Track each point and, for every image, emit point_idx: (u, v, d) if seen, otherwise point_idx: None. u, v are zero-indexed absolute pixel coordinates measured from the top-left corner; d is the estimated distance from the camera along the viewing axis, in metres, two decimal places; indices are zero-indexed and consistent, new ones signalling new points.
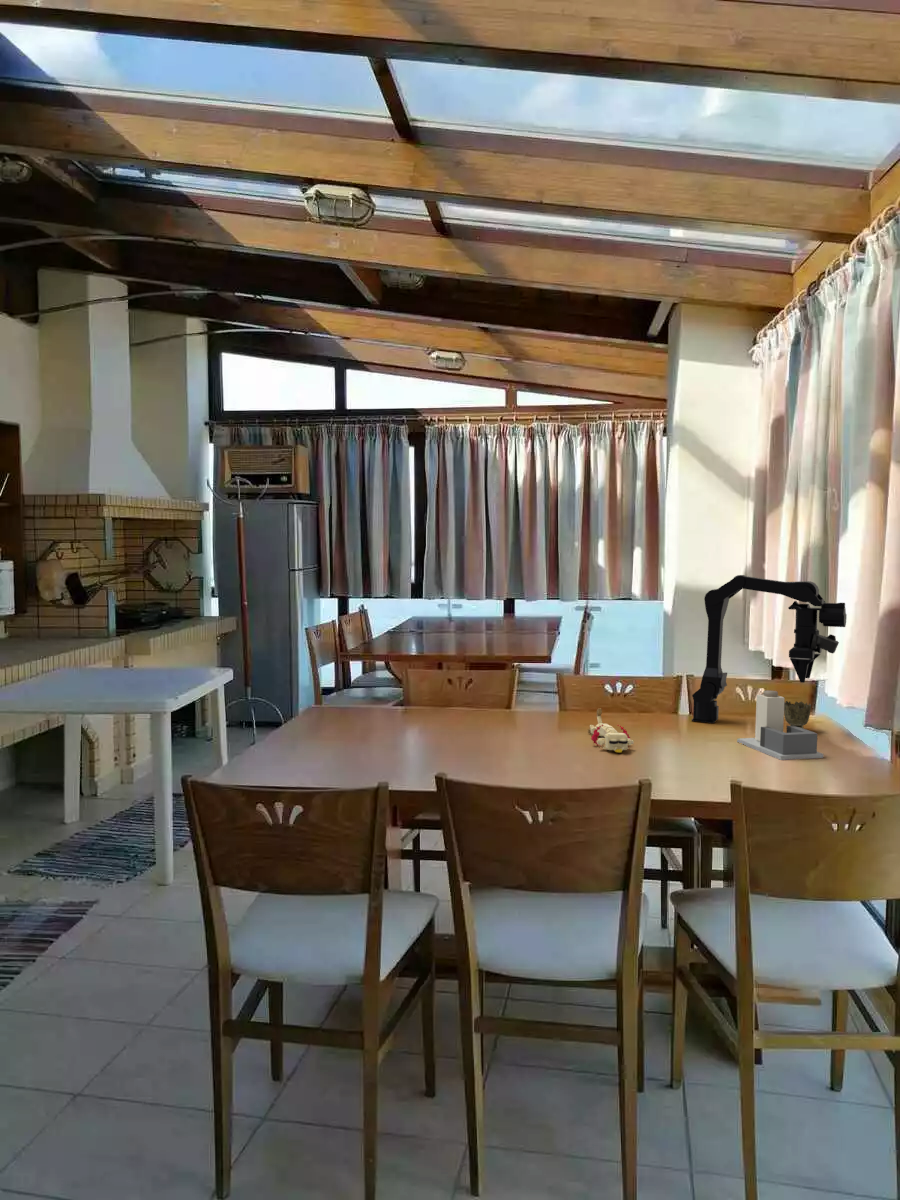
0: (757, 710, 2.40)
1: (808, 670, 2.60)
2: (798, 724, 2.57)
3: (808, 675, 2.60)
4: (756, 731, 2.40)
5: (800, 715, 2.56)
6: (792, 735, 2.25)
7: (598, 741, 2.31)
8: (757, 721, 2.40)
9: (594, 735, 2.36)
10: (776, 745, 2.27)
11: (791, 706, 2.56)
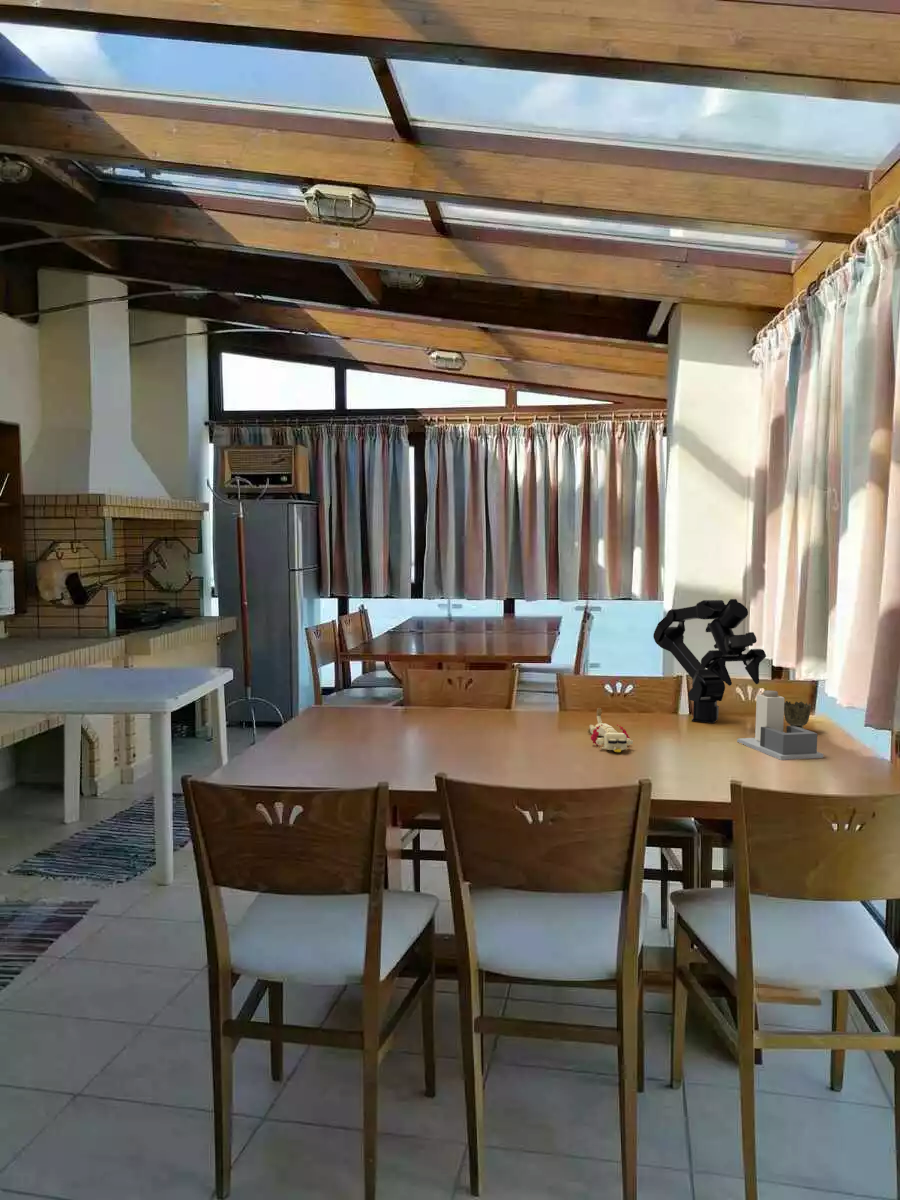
0: (757, 710, 2.40)
1: (754, 676, 2.57)
2: (798, 724, 2.57)
3: (756, 680, 2.56)
4: (756, 731, 2.40)
5: (800, 715, 2.56)
6: (792, 735, 2.25)
7: (597, 741, 2.31)
8: (757, 721, 2.40)
9: (593, 735, 2.36)
10: (776, 745, 2.27)
11: (791, 706, 2.56)
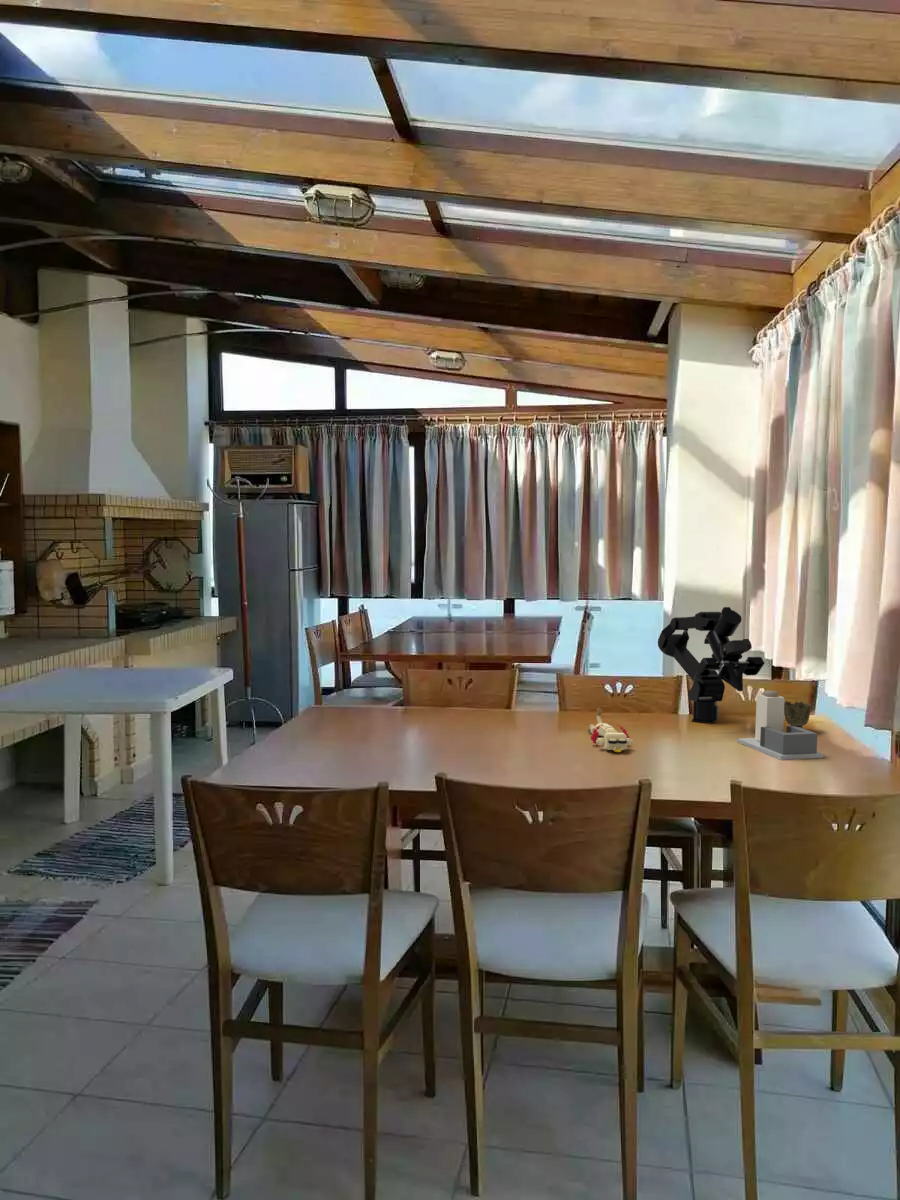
0: (757, 710, 2.40)
1: None
2: (798, 724, 2.57)
3: None
4: (756, 731, 2.40)
5: (800, 715, 2.56)
6: (792, 735, 2.25)
7: (597, 741, 2.31)
8: (757, 721, 2.40)
9: (593, 735, 2.36)
10: (776, 745, 2.27)
11: (791, 706, 2.56)
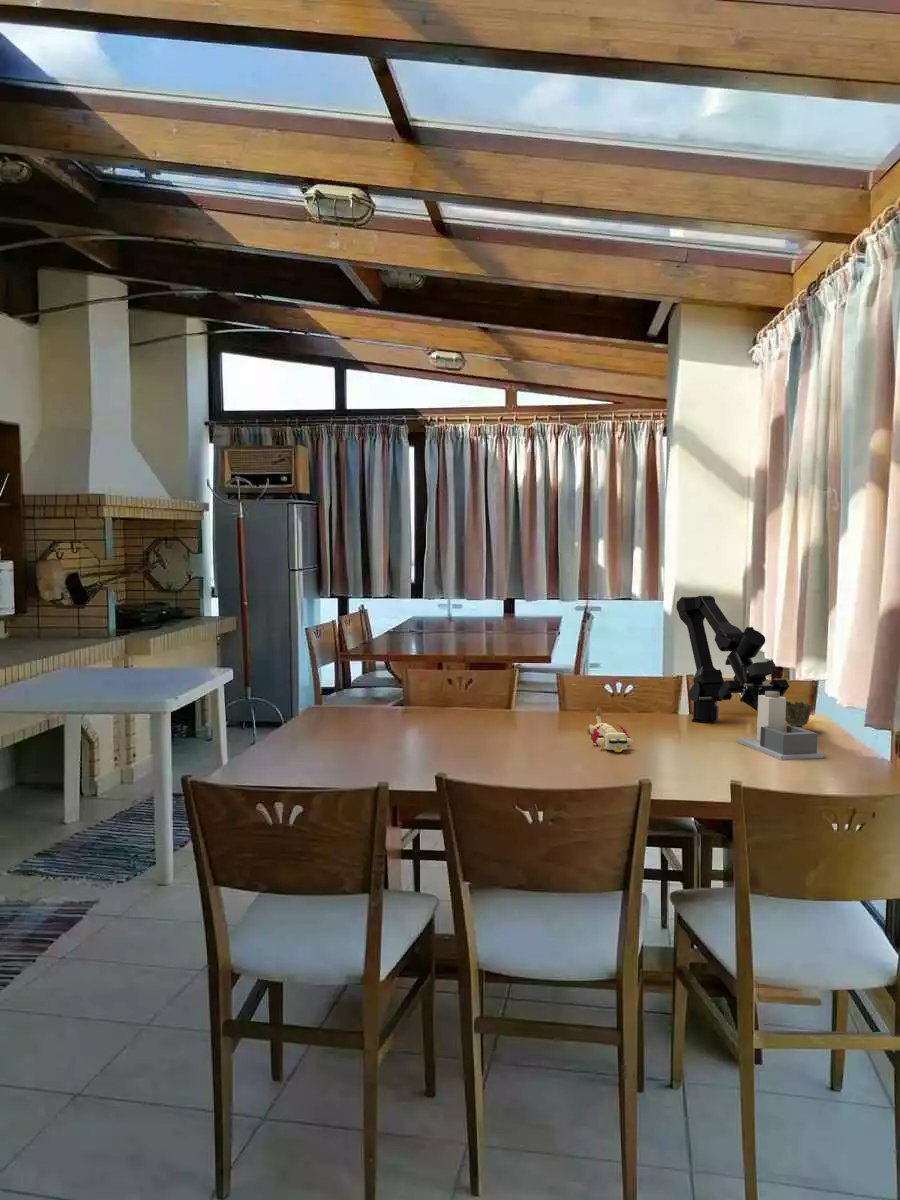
0: (759, 711, 2.39)
1: None
2: (798, 724, 2.57)
3: None
4: (758, 732, 2.39)
5: (800, 715, 2.56)
6: (792, 735, 2.25)
7: (598, 741, 2.31)
8: (759, 721, 2.39)
9: (594, 735, 2.36)
10: (776, 745, 2.27)
11: (791, 706, 2.56)
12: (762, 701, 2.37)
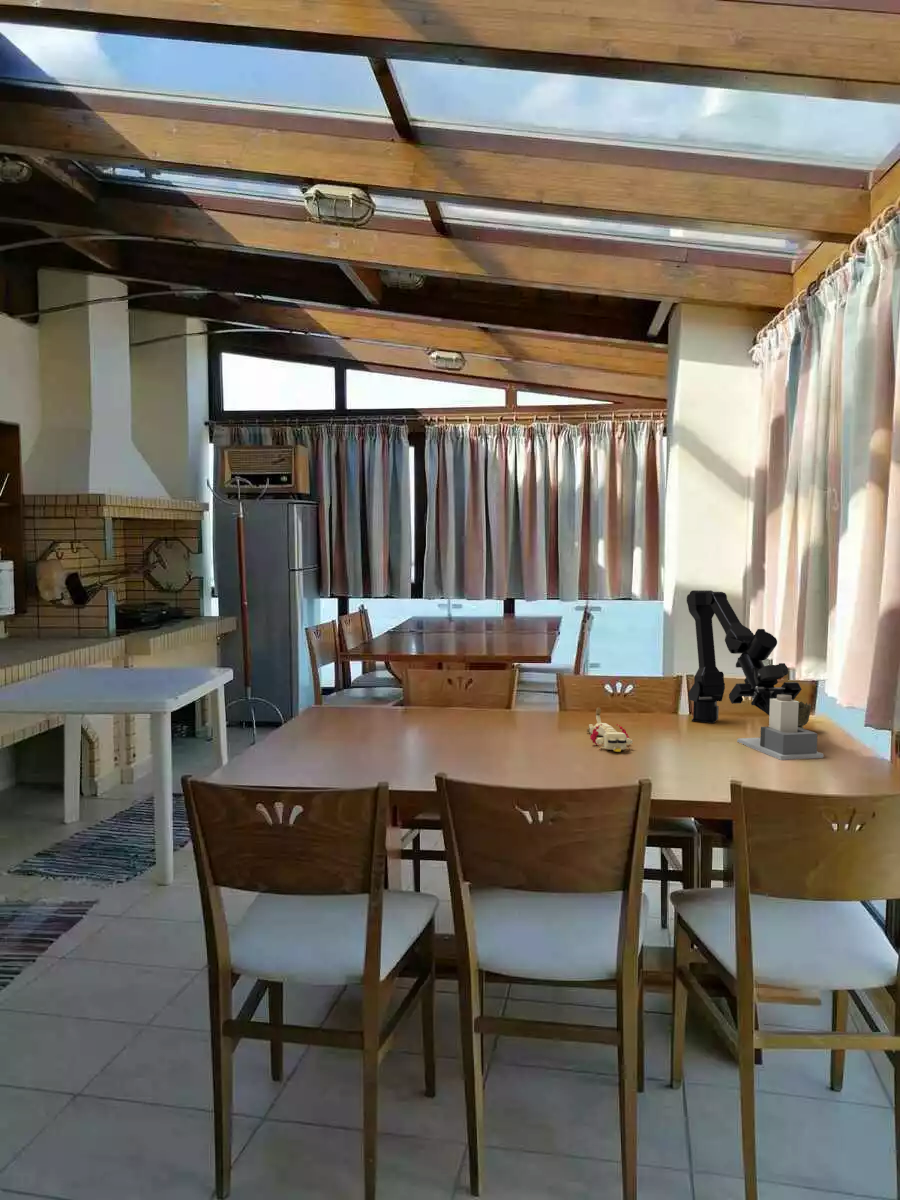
0: (770, 714, 2.34)
1: None
2: (798, 724, 2.57)
3: None
4: None
5: (800, 715, 2.55)
6: (792, 735, 2.25)
7: (597, 740, 2.32)
8: (770, 725, 2.34)
9: (593, 734, 2.36)
10: (776, 745, 2.27)
11: None
12: (774, 705, 2.32)
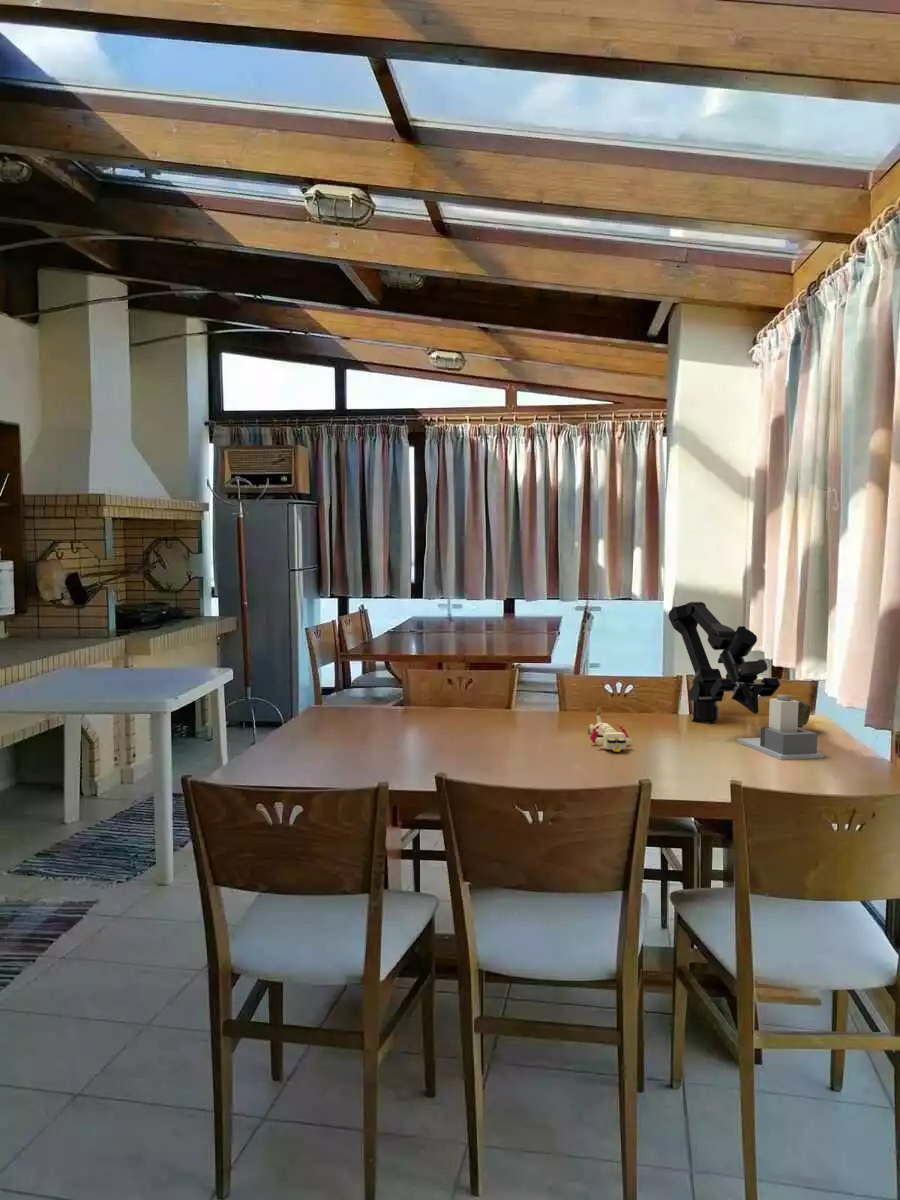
0: (770, 714, 2.34)
1: None
2: (798, 724, 2.57)
3: None
4: None
5: (800, 715, 2.55)
6: (792, 735, 2.25)
7: (596, 740, 2.32)
8: (770, 725, 2.34)
9: (593, 734, 2.37)
10: (776, 745, 2.27)
11: None
12: (774, 705, 2.32)
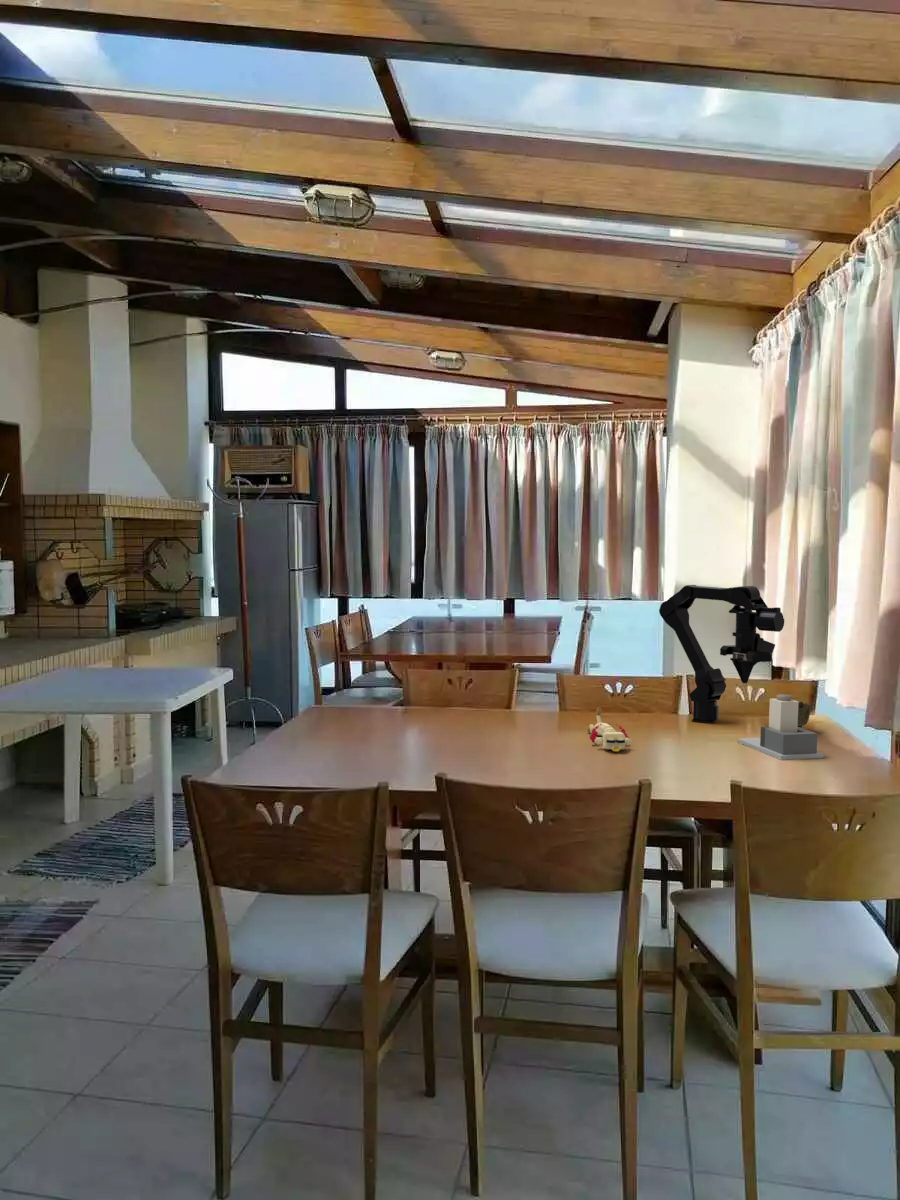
0: (770, 714, 2.34)
1: None
2: (798, 724, 2.57)
3: None
4: None
5: (800, 715, 2.55)
6: (792, 735, 2.25)
7: (596, 740, 2.32)
8: (770, 725, 2.34)
9: (592, 734, 2.37)
10: (776, 745, 2.27)
11: None
12: (774, 705, 2.32)
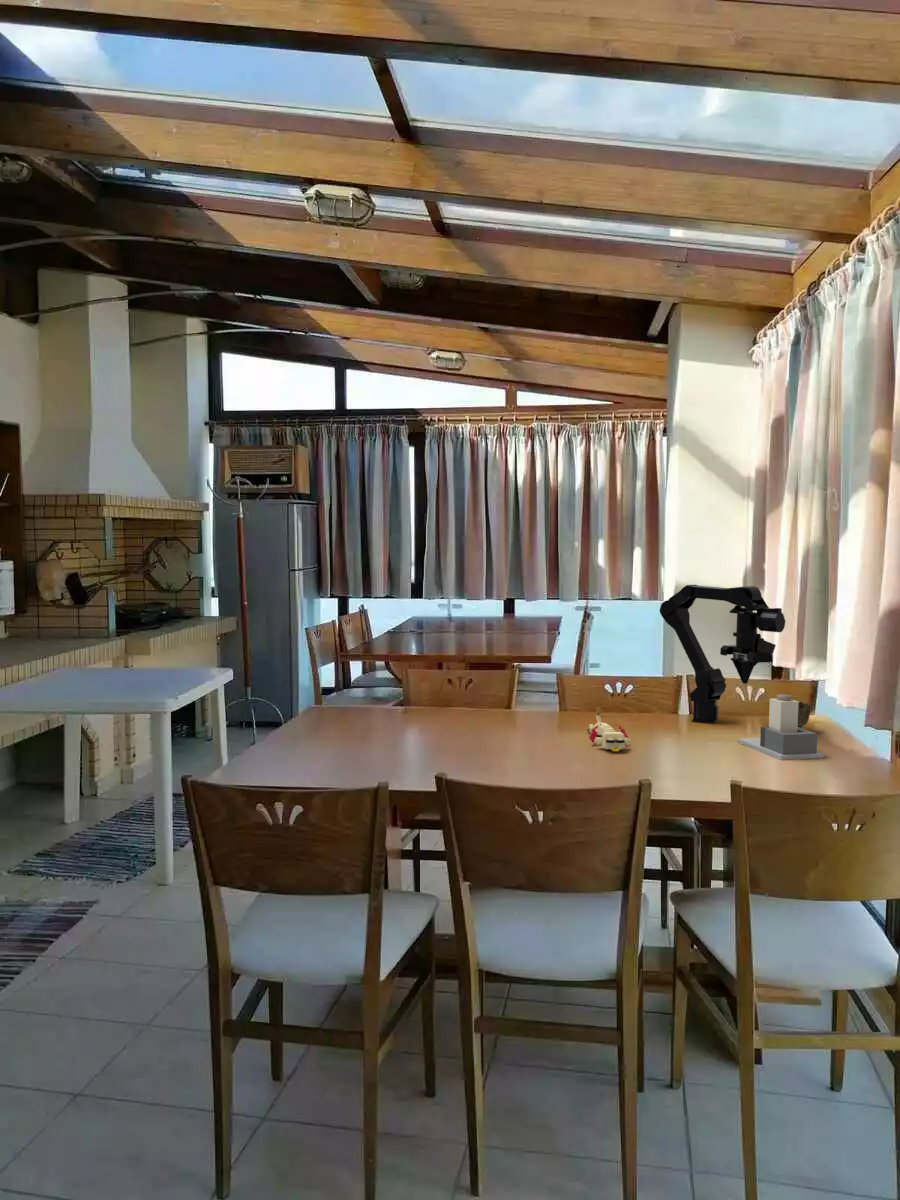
0: (770, 714, 2.34)
1: None
2: (798, 724, 2.57)
3: None
4: None
5: (800, 715, 2.55)
6: (792, 735, 2.25)
7: (595, 740, 2.32)
8: (770, 725, 2.34)
9: (592, 734, 2.37)
10: (776, 745, 2.27)
11: None
12: (774, 705, 2.32)
